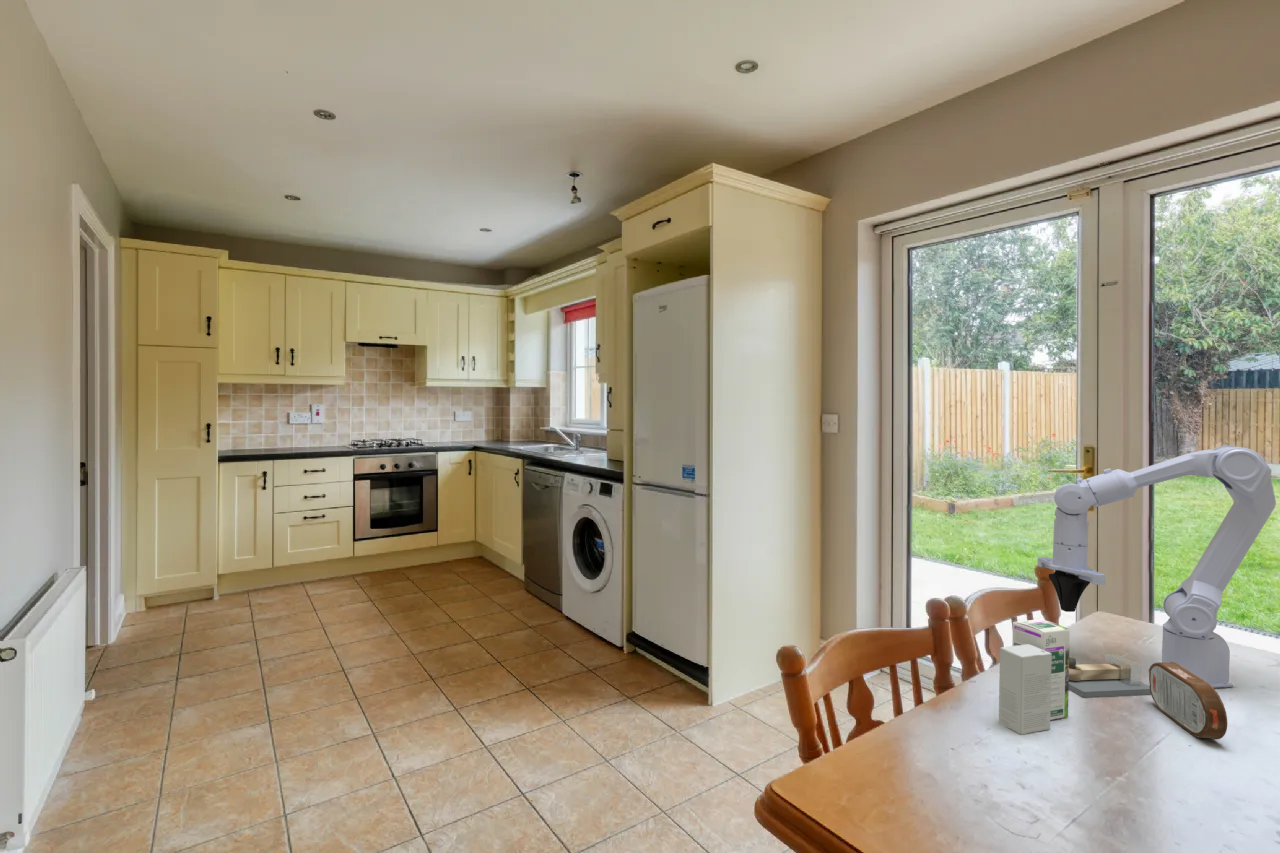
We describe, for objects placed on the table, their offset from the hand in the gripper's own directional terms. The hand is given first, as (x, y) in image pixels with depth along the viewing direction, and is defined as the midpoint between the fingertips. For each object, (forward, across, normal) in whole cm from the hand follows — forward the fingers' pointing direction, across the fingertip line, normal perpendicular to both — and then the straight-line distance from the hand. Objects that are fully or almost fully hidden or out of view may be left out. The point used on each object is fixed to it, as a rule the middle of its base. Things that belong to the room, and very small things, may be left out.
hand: (1068, 610), depth 126 cm
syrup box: (+10, +21, -24) cm, 33 cm away
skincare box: (+10, +25, -30) cm, 40 cm away
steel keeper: (+8, +13, 0) cm, 15 cm away
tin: (+10, +27, -4) cm, 29 cm away
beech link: (+8, +12, -5) cm, 15 cm away
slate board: (+9, +12, -5) cm, 16 cm away
